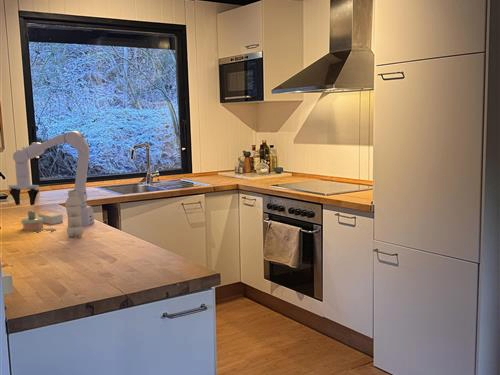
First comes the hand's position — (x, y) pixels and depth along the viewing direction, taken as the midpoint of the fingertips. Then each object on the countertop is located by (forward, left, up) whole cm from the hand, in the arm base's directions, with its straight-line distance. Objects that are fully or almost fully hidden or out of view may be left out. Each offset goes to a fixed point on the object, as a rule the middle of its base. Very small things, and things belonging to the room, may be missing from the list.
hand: (25, 204), depth 244 cm
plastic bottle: (-34, +16, -11) cm, 39 cm away
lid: (-6, +4, -7) cm, 10 cm away
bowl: (-6, +4, -10) cm, 13 cm away
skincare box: (-1, -13, -8) cm, 15 cm away
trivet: (-15, +9, -10) cm, 20 cm away
